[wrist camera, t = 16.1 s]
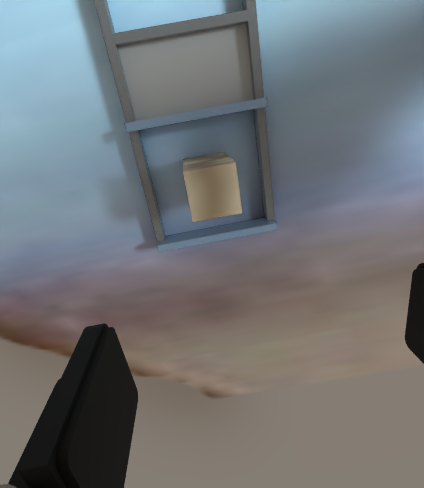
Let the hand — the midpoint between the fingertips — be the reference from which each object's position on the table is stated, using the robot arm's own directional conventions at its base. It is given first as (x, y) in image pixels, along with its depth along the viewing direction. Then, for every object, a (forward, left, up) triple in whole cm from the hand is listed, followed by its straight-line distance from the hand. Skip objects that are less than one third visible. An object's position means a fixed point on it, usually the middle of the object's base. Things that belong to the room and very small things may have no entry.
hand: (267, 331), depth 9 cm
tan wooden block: (0, 0, -26) cm, 26 cm away
